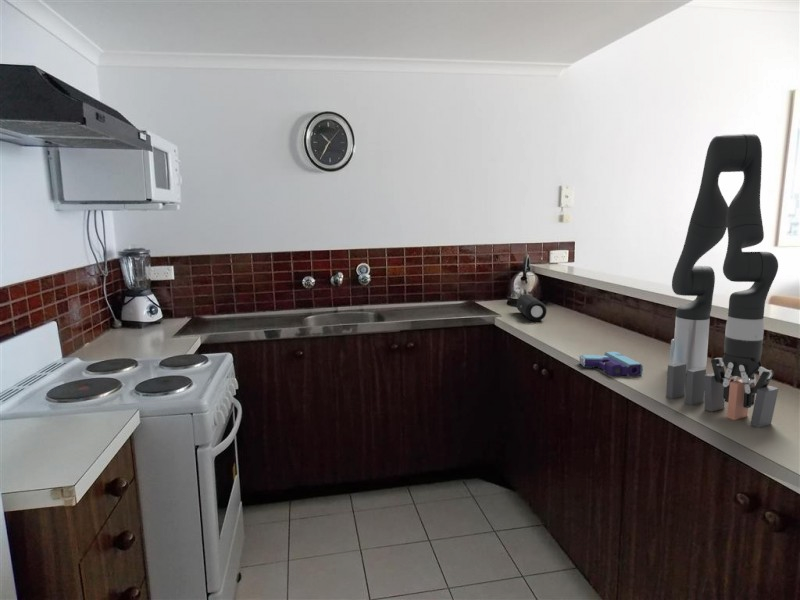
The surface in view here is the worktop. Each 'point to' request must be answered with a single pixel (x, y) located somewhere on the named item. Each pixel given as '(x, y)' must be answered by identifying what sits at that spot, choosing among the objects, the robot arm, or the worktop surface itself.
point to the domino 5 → (764, 406)
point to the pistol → (613, 364)
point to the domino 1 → (676, 380)
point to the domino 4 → (736, 401)
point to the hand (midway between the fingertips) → (737, 403)
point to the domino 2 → (695, 386)
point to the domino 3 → (713, 393)
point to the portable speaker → (531, 307)
